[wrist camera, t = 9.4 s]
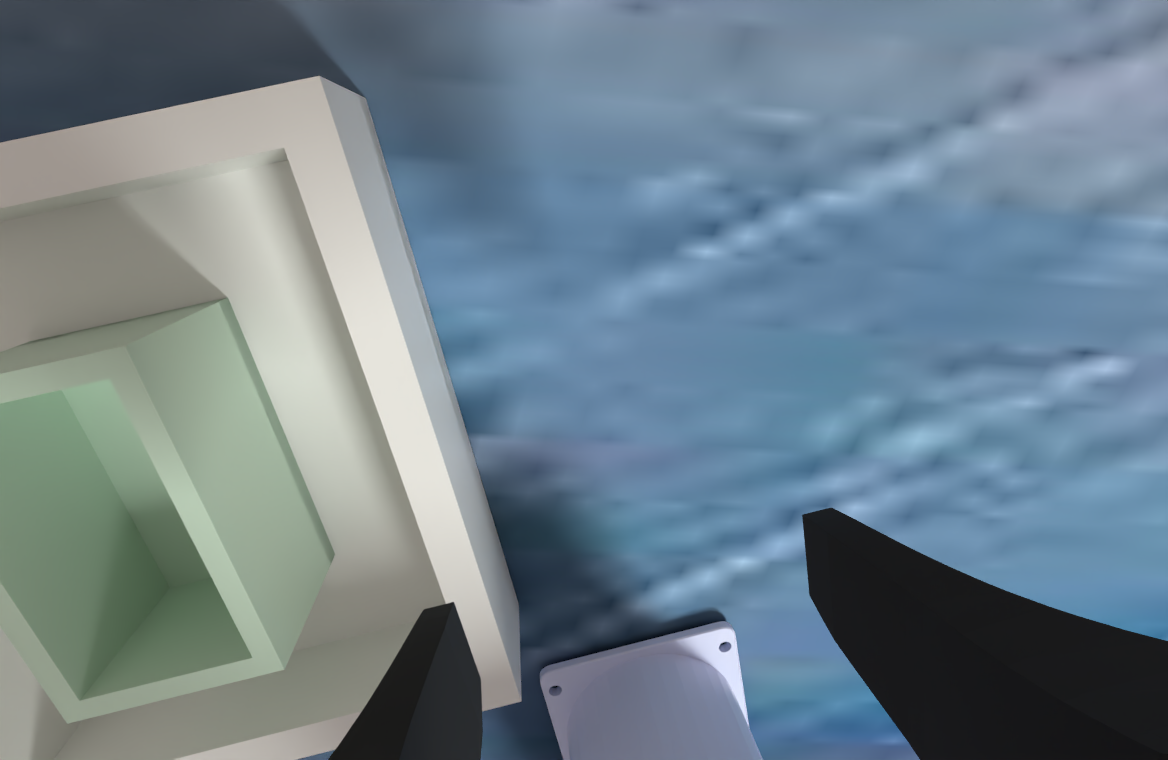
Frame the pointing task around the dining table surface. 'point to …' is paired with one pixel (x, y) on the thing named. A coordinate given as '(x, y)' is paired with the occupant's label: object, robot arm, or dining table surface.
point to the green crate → (150, 513)
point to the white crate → (269, 391)
